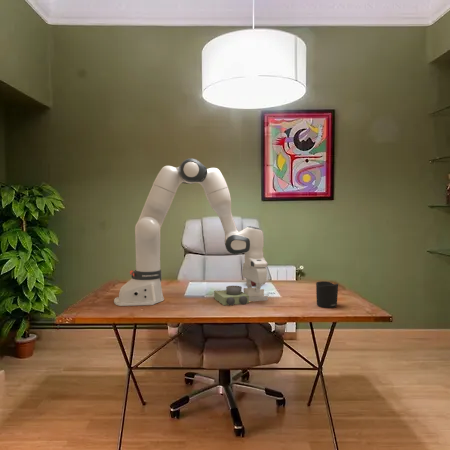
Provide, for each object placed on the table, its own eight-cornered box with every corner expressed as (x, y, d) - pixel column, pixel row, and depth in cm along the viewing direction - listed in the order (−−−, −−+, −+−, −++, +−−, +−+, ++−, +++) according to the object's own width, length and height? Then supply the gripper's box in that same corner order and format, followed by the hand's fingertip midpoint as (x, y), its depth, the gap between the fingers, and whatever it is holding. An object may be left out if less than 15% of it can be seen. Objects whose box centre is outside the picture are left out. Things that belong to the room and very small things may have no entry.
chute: (248, 301, 189) (248, 290, 189) (243, 298, 194) (243, 288, 194) (263, 299, 192) (264, 289, 191) (259, 297, 197) (259, 287, 196)
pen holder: (316, 308, 177) (317, 285, 176) (315, 302, 186) (315, 281, 185) (339, 308, 175) (339, 285, 175) (336, 303, 185) (336, 281, 184)
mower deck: (224, 306, 179) (224, 291, 179) (214, 298, 194) (214, 284, 193) (271, 302, 187) (271, 288, 186) (257, 294, 201) (257, 281, 201)
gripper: (239, 258, 200) (239, 286, 201) (256, 264, 181) (255, 295, 182) (251, 257, 203) (250, 285, 203) (269, 263, 183) (268, 294, 184)
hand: (253, 290), depth 193 cm, fingers open, 8 cm apart
